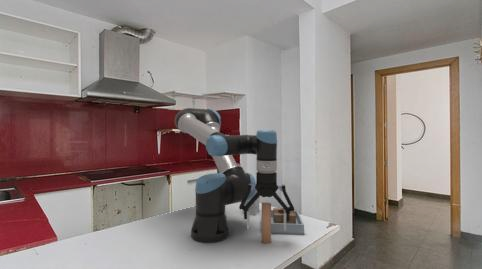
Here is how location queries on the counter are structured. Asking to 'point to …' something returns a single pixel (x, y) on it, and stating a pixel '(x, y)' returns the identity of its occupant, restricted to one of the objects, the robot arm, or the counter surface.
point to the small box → (253, 206)
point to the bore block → (279, 216)
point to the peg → (266, 222)
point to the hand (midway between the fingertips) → (266, 228)
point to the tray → (290, 228)
